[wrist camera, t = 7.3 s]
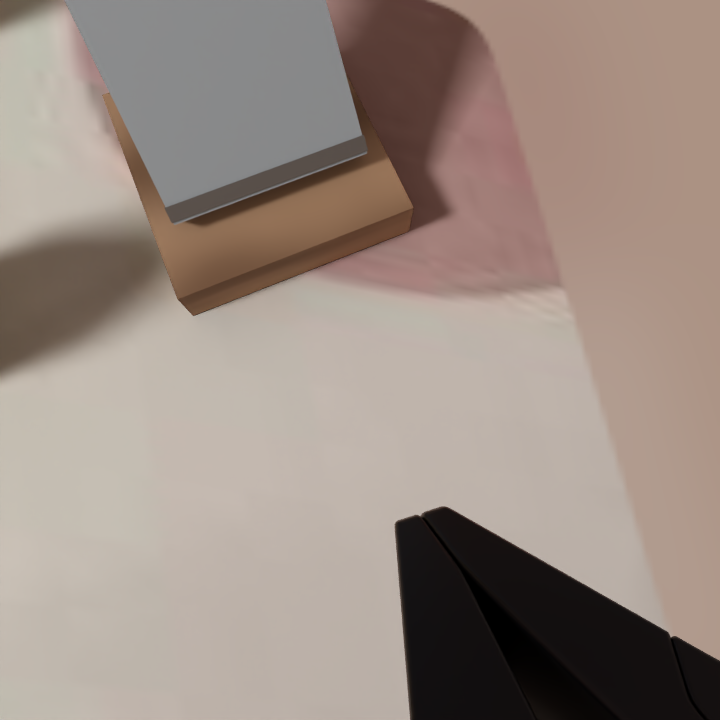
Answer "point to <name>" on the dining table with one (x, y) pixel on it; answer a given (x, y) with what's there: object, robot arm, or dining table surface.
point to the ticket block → (274, 223)
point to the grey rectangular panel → (224, 93)
